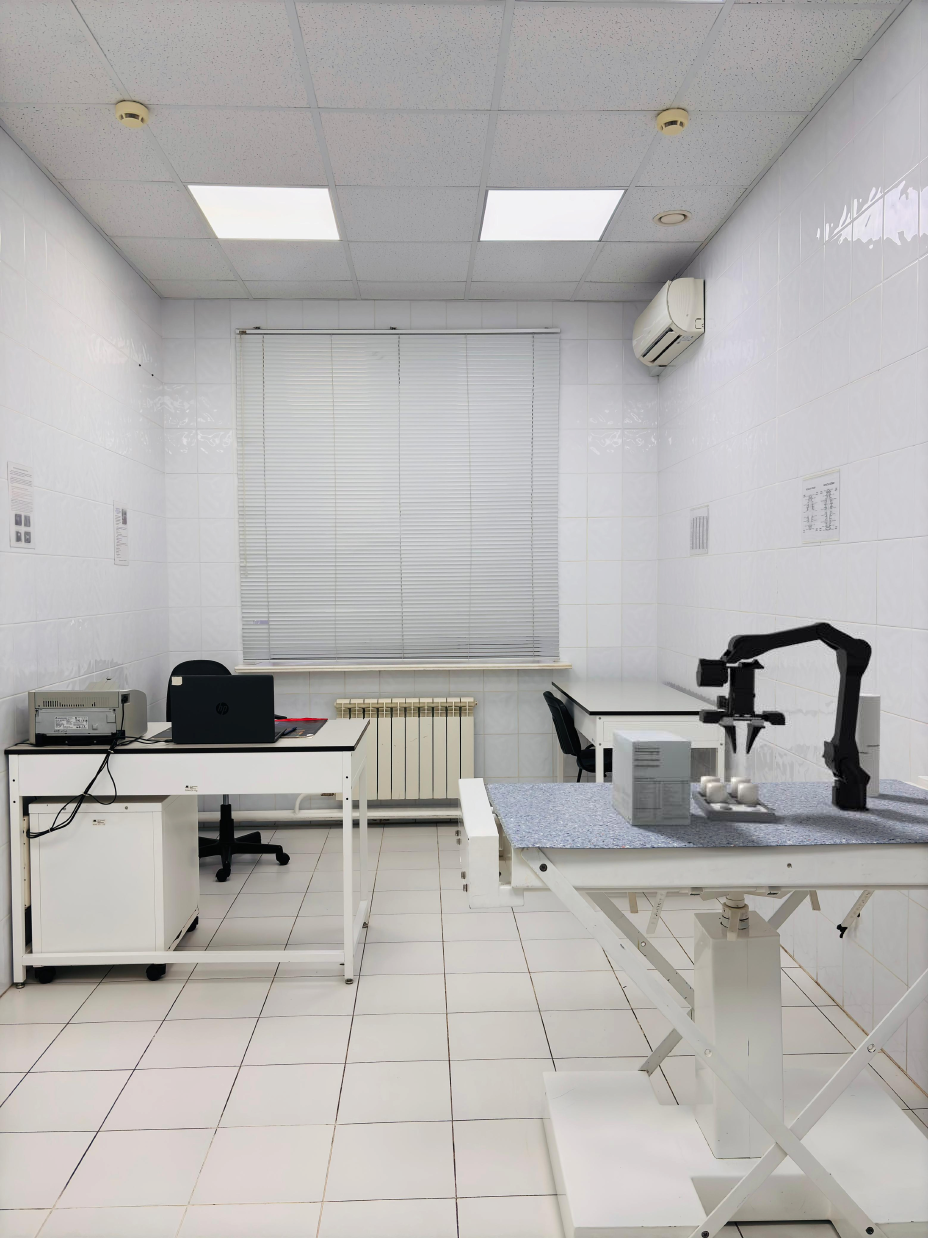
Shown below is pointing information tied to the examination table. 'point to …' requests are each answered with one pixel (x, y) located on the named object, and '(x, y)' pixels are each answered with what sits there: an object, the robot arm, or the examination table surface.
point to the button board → (733, 809)
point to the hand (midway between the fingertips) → (740, 753)
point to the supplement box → (651, 777)
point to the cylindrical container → (869, 739)
